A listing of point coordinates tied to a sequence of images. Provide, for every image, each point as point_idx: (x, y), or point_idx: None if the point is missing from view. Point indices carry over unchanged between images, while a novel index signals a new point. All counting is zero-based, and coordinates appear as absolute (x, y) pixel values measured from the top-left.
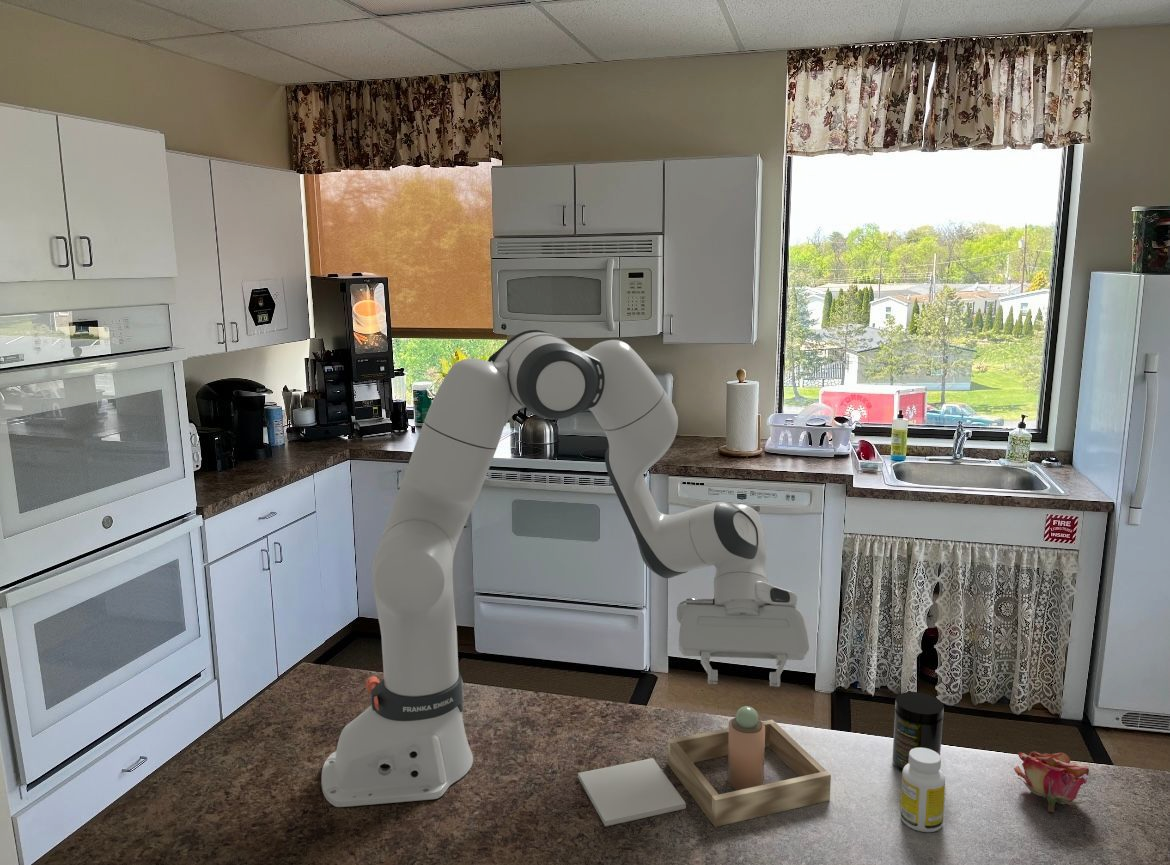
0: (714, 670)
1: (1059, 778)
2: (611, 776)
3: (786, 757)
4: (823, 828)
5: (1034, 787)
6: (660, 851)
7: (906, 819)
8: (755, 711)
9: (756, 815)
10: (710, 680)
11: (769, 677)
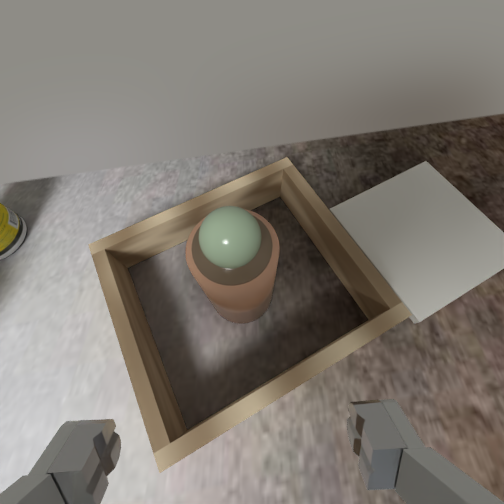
0: (388, 443)
1: None
2: (466, 253)
3: (157, 361)
4: (142, 204)
5: None
6: (341, 141)
7: (19, 218)
8: (203, 226)
9: None
10: (383, 400)
11: (101, 492)
